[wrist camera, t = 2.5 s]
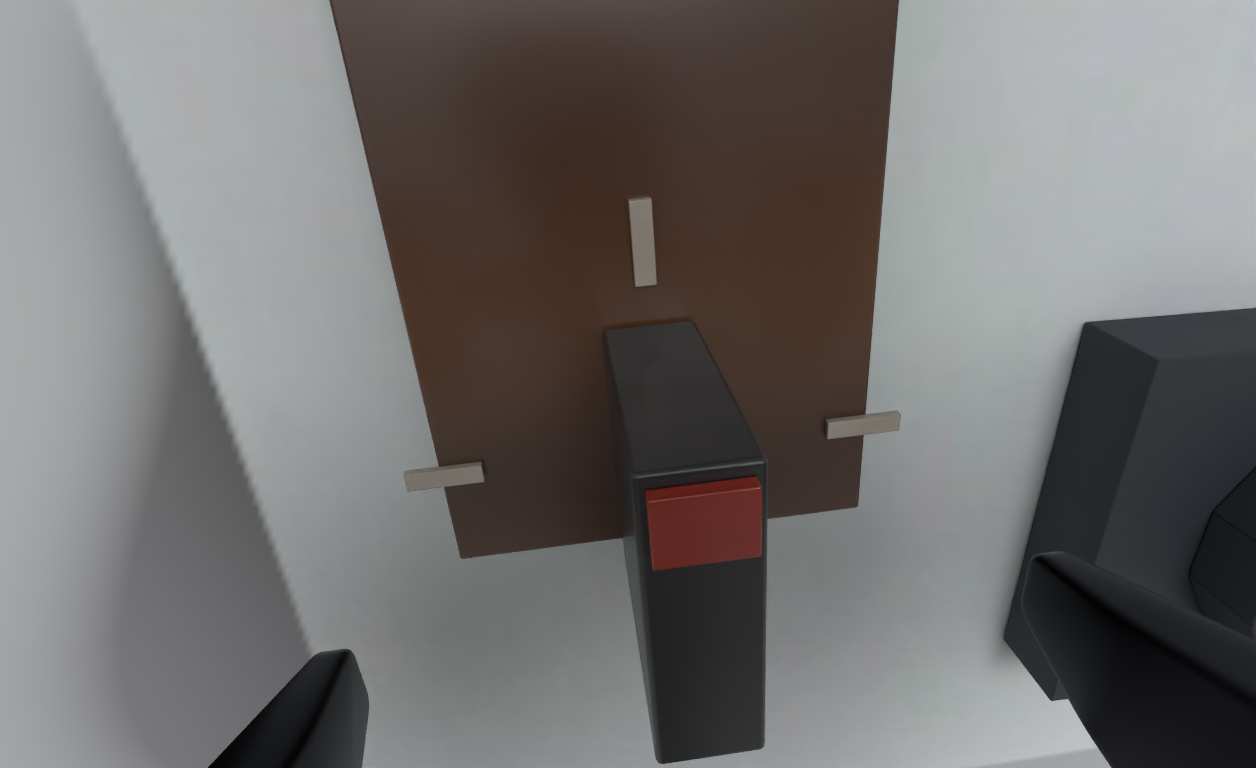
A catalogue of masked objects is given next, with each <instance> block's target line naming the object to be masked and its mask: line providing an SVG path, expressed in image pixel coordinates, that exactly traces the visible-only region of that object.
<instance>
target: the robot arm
mask: <svg viewBox="0 0 1256 768" xmlns="http://www.w3.org/2000/svg"><path fill="white" fill-rule="evenodd" d="M1021 608H1022V612H1023V615H1024V618H1025V620H1026V622H1027V624H1028V626H1029V628H1030V629H1031V631H1032V633H1033V635H1034V637H1035V639H1036V640H1037V642H1038V644H1039V646H1040V648H1041V650H1042V651H1043V653H1044V655H1045V657H1046V659H1047V661H1048V662H1049V664H1050V666H1051V668H1052V670H1053V672H1054V673H1055V675H1056V677H1057V679H1058V681H1059V683H1060V684H1061V686H1062V688H1063V690H1064V692H1065V694H1066V695H1067V697H1068V699H1069V701H1070V703H1071V705H1072V706H1073V708H1074V710H1075V712H1076V713H1077V715H1078V717H1079V718H1080V720H1081V722H1082V724H1083V725H1084V727H1085V728H1086V730H1087V732H1088V733H1089V735H1090V736H1091V738H1092V739H1093V741H1094V742H1095V744H1096V745H1097V747H1098V748H1099V750H1100V751H1101V753H1102V754H1103V756H1104V757H1105V759H1106V760H1107V762H1108V763H1109V765H1110V766H1111V767H1112V768H1256V640H1255V639H1252V638H1250V637H1248V636H1246V635H1244V634H1242V633H1240V632H1237V631H1235V630H1233V629H1231V628H1229V627H1227V626H1225V625H1223V624H1220V623H1218V622H1216V621H1214V620H1212V619H1210V618H1208V617H1205V616H1203V615H1201V614H1199V613H1197V612H1195V611H1193V610H1191V609H1188V608H1186V607H1184V606H1182V605H1180V604H1178V603H1176V602H1174V601H1171V600H1169V599H1167V598H1165V597H1163V596H1161V595H1159V594H1156V593H1154V592H1152V591H1150V590H1148V589H1146V588H1144V587H1142V586H1139V585H1137V584H1135V583H1133V582H1131V581H1129V580H1127V579H1125V578H1122V577H1120V576H1118V575H1116V574H1114V573H1112V572H1110V571H1107V570H1105V569H1103V568H1101V567H1099V566H1097V565H1095V564H1093V563H1090V562H1088V561H1086V560H1084V559H1082V558H1080V557H1078V556H1076V555H1073V554H1071V553H1069V552H1065V551H1056V552H1049V553H1041V554H1037V555H1034V556H1033V557H1032V559H1031V560H1030V562H1029V565H1028V570H1027V575H1026V579H1025V584H1024V588H1023V593H1022V597H1021ZM368 714H369V698H368V693H367V690H366V687H365V684H364V681H363V678H362V675H361V672H360V670H359V667H358V664H357V661H356V658H355V656H354V654H353V652H352V651H351V650H349V649H340V650H332V651H325V652H320V653H318V654H316V655H315V656H313V657H312V658H311V659H310V660H309V661H308V662H307V663H306V664H305V665H304V667H303V668H302V669H301V670H300V671H299V672H298V673H297V674H296V675H295V676H294V677H293V678H292V679H291V680H290V681H289V682H288V684H286V686H285V687H284V688H283V689H282V690H281V691H280V692H279V693H278V694H277V695H276V696H275V697H274V698H273V699H272V700H271V701H270V702H269V704H268V705H267V706H266V707H265V708H264V709H263V710H262V711H261V712H260V713H259V714H258V715H257V716H256V717H255V718H254V719H253V720H252V721H251V723H250V724H249V725H248V726H247V727H246V728H245V729H244V730H243V731H242V732H241V733H240V734H239V735H238V736H237V737H236V738H235V740H233V742H232V743H231V744H230V745H229V746H228V747H227V748H226V749H225V750H224V751H223V752H222V753H221V754H220V755H219V756H218V758H217V759H216V760H215V761H214V762H213V763H212V764H211V765H210V766H209V767H208V768H362V761H363V753H364V745H365V738H366V730H367V722H368Z"/></svg>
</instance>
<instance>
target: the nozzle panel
mask: <svg viewBox="0 0 1256 768" xmlns="http://www.w3.org/2000/svg"><path fill="white" fill-rule="evenodd" d="M329 1H330V5H331V9H332V13H333V18H334V22H335V26H336V31H337V35H338V39H339V43H340V48H341V52H342V56H343V60H344V65H345V69H346V73H347V77H348V82H349V86H350V90H351V94H352V99H353V103H354V107H355V111H356V116H357V120H358V124H359V128H360V133H361V137H362V141H363V145H364V150H365V154H366V158H367V162H368V167H369V171H370V175H371V179H372V184H373V188H374V192H375V196H376V201H377V205H378V209H379V213H380V218H381V222H382V226H383V231H384V235H385V239H386V243H387V248H388V252H389V256H390V260H391V265H392V269H393V273H394V277H395V282H396V286H397V290H398V294H399V299H400V303H401V307H402V311H403V316H404V320H405V324H406V328H407V333H408V337H409V341H410V345H411V350H412V354H413V358H414V362H415V367H416V371H417V375H418V379H419V384H420V388H421V392H422V396H423V401H424V405H425V409H426V414H427V418H428V422H429V426H430V431H431V435H432V439H433V443H434V448H435V452H436V456H437V460H438V465H439V467H433V468H425V469H416V470H408V471H405V472H404V479H405V483H406V487H407V491H416V490H424V489H432V488H440V487H444V490H445V494H446V499H447V503H448V507H449V511H450V516H451V520H452V524H453V528H454V533H455V537H456V541H457V545H458V550H459V554H460V557H461V558H462V559H465V558H472V557H480V556H488V555H495V554H503V553H511V552H518V551H526V550H534V549H541V548H549V547H557V546H564V545H572V544H580V543H587V542H595V541H603V540H610V539H618V538H623V533H622V523H621V513H620V504H619V494H618V484H617V474H616V465H615V455H614V445H613V435H612V426H611V416H610V406H609V397H608V387H607V377H606V367H605V358H604V348H603V338H602V335H603V332H604V331H607V330H614V329H623V328H632V327H641V326H650V325H659V324H668V323H676V322H685V321H693V322H695V324H696V326H697V328H698V330H699V332H700V333H701V335H702V337H703V339H704V341H705V343H706V345H707V347H708V349H709V350H710V352H711V354H712V356H713V358H714V360H715V362H716V364H717V366H718V367H719V369H720V371H721V373H722V375H723V377H724V379H725V381H726V383H727V385H728V386H729V388H730V390H731V392H732V394H733V396H734V398H735V400H736V402H737V403H738V405H739V407H740V409H741V411H742V413H743V415H744V417H745V419H746V420H747V422H748V424H749V426H750V428H751V430H752V432H753V434H754V436H755V437H756V439H757V441H758V443H759V445H760V447H761V449H762V451H763V453H764V454H765V456H766V458H767V460H768V493H767V519H771V518H779V517H787V516H794V515H802V514H810V513H817V512H825V511H833V510H840V509H848V508H856V507H857V506H858V498H859V486H860V473H861V461H862V449H863V436H864V435H866V434H874V433H882V432H890V431H898V430H899V427H900V417H901V414H900V413H899V412H898V411H889V412H881V413H873V414H865V411H866V399H867V387H868V374H869V362H870V350H871V337H872V325H873V313H874V300H875V288H876V276H877V263H878V251H879V239H880V226H881V214H882V202H883V189H884V177H885V165H886V152H887V140H888V128H889V115H890V103H891V91H892V78H893V66H894V53H895V41H896V29H897V16H898V4H899V0H329Z"/></svg>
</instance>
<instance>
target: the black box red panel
mask: <svg viewBox="0 0 1256 768" xmlns="http://www.w3.org/2000/svg"><path fill="white" fill-rule="evenodd" d="M602 338H603V348H604V358H605V367H606V377H607V387H608V397H609V406H610V416H611V426H612V435H613V445H614V455H615V465H616V474H617V484H618V494H619V504H620V513H621V523H622V533H623V543H624V552H625V561H626V568H627V574H628V581H629V588H630V594H631V601H632V607H633V614H634V620H635V627H636V633H637V640H638V646H639V653H640V659H641V666H642V672H643V679H644V685H645V692H646V698H647V705H648V712H649V718H650V725H651V731H652V738H653V744H654V751H655V757H656V760H657V761H658V763H660V764H666V763H672V762H679V761H686V760H692V759H699V758H706V757H712V756H719V755H726V754H732V753H739V752H746V751H752V750H759V749H762V748H763V747H764V743H765V672H766V583H767V493H768V460H767V458H766V456H765V454H764V453H763V451H762V449H761V447H760V445H759V443H758V441H757V439H756V437H755V436H754V434H753V432H752V430H751V428H750V426H749V424H748V422H747V420H746V419H745V417H744V415H743V413H742V411H741V409H740V407H739V405H738V403H737V402H736V400H735V398H734V396H733V394H732V392H731V390H730V388H729V386H728V385H727V383H726V381H725V379H724V377H723V375H722V373H721V371H720V369H719V367H718V366H717V364H716V362H715V360H714V358H713V356H712V354H711V352H710V350H709V349H708V347H707V345H706V343H705V341H704V339H703V337H702V335H701V333H700V332H699V330H698V328H697V326H696V324H695V322H693V321H685V322H676V323H668V324H659V325H650V326H641V327H632V328H623V329H614V330H607V331H604V332H603V335H602Z"/></svg>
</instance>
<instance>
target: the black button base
mask: <svg viewBox="0 0 1256 768" xmlns="http://www.w3.org/2000/svg"><path fill="white" fill-rule="evenodd" d="M1056 551H1065V552H1069V553H1071V554H1073V555H1076V556H1078V557H1080V558H1082V559H1084V560H1086V561H1088V562H1090V563H1093V564H1095V565H1097V566H1099V567H1101V568H1103V569H1105V570H1107V571H1110V572H1112V573H1114V574H1116V575H1118V576H1120V577H1122V578H1125V579H1127V580H1129V581H1131V582H1133V583H1135V584H1137V585H1139V586H1142V587H1144V588H1146V589H1148V590H1150V591H1152V592H1154V593H1156V594H1159V595H1161V596H1163V597H1165V598H1167V599H1169V600H1171V601H1174V602H1176V603H1178V604H1180V605H1182V606H1184V607H1186V608H1188V609H1191V610H1193V611H1195V612H1197V613H1199V614H1201V615H1203V616H1205V617H1208V618H1210V619H1212V620H1214V621H1216V622H1218V623H1220V624H1223V625H1225V626H1227V627H1229V628H1231V629H1233V630H1235V631H1237V632H1240V633H1242V634H1244V635H1246V636H1248V637H1250V638H1252V639H1255V640H1256V308H1254V309H1242V310H1230V311H1218V312H1206V313H1194V314H1182V315H1170V316H1158V317H1146V318H1134V319H1122V320H1110V321H1098V322H1087V323H1086V324H1085V328H1084V332H1083V336H1082V340H1081V343H1080V347H1079V351H1078V355H1077V359H1076V363H1075V367H1074V370H1073V374H1072V378H1071V382H1070V386H1069V390H1068V394H1067V397H1066V401H1065V405H1064V409H1063V413H1062V417H1061V420H1060V424H1059V428H1058V432H1057V436H1056V440H1055V444H1054V447H1053V451H1052V455H1051V459H1050V463H1049V467H1048V471H1047V474H1046V478H1045V482H1044V486H1043V490H1042V494H1041V497H1040V501H1039V505H1038V509H1037V513H1036V517H1035V521H1034V524H1033V528H1032V532H1031V536H1030V540H1029V544H1028V548H1027V551H1026V555H1025V559H1024V563H1023V567H1022V571H1021V574H1020V578H1019V582H1018V586H1017V590H1016V594H1015V598H1014V601H1013V605H1012V609H1011V613H1010V617H1009V621H1008V624H1007V628H1006V632H1005V636H1004V640H1005V642H1006V643H1007V644H1008V646H1009V647H1010V648H1011V649H1012V651H1013V652H1014V653H1015V655H1016V656H1017V657H1018V659H1019V660H1020V661H1021V662H1022V664H1023V665H1024V666H1025V668H1026V669H1027V670H1028V672H1029V673H1030V674H1031V676H1032V677H1033V678H1034V679H1035V681H1036V682H1037V683H1038V685H1039V686H1040V687H1041V689H1042V690H1043V691H1044V693H1045V694H1046V695H1047V696H1048V698H1049V699H1050V700H1051V701H1055V700H1063V699H1068V697H1067V695H1066V694H1065V692H1064V690H1063V688H1062V686H1061V684H1060V683H1059V681H1058V679H1057V677H1056V675H1055V673H1054V672H1053V670H1052V668H1051V666H1050V664H1049V662H1048V661H1047V659H1046V657H1045V655H1044V653H1043V651H1042V650H1041V648H1040V646H1039V644H1038V642H1037V640H1036V639H1035V637H1034V635H1033V633H1032V631H1031V629H1030V628H1029V626H1028V624H1027V622H1026V620H1025V618H1024V615H1023V612H1022V608H1021V597H1022V593H1023V588H1024V584H1025V579H1026V575H1027V570H1028V565H1029V562H1030V560H1031V559H1032V557H1033V556H1034V555H1037V554H1041V553H1049V552H1056Z"/></svg>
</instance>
